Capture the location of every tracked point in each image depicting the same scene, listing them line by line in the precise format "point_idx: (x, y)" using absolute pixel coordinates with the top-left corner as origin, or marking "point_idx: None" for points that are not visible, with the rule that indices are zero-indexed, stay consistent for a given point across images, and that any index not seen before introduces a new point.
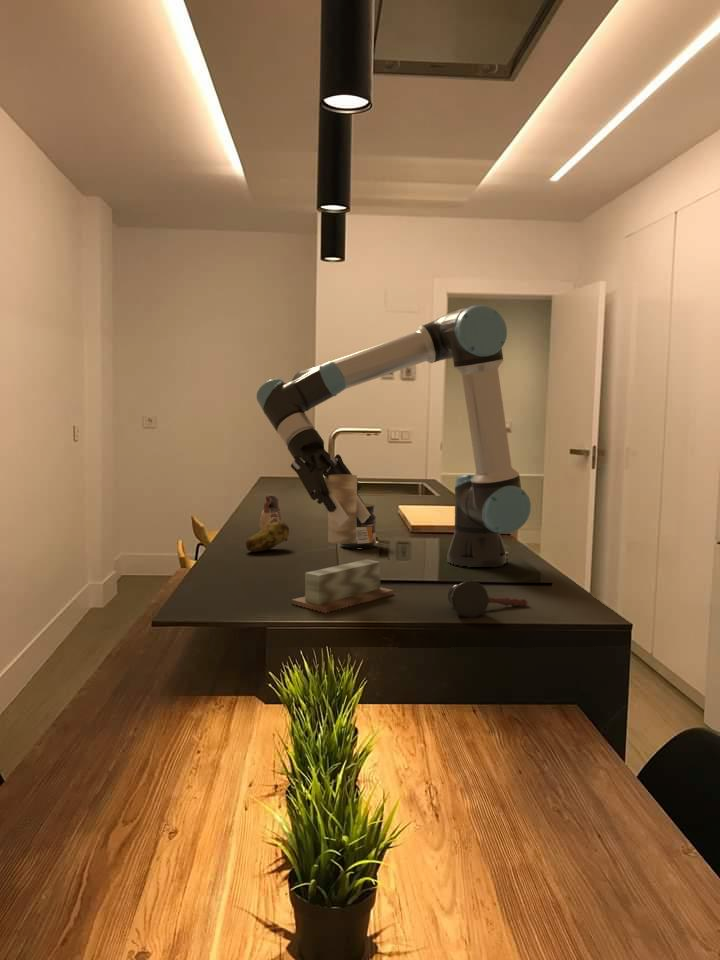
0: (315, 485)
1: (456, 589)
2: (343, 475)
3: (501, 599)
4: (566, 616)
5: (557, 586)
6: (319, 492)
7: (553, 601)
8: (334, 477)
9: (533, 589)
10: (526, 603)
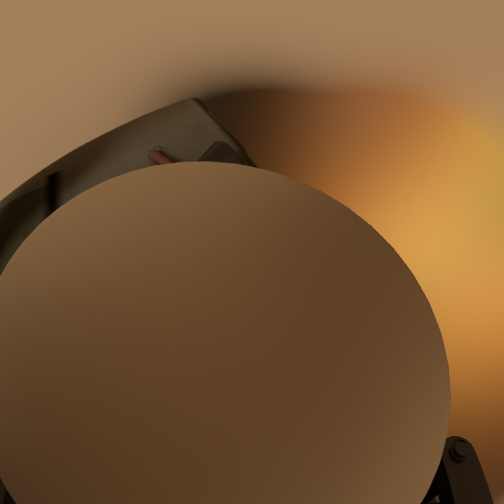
0: (476, 492)
1: (242, 163)
2: (118, 403)
3: (169, 160)
4: (183, 123)
5: (62, 166)
6: (459, 437)
7: (125, 145)
8: (445, 392)
9: (76, 176)
10: (161, 148)
